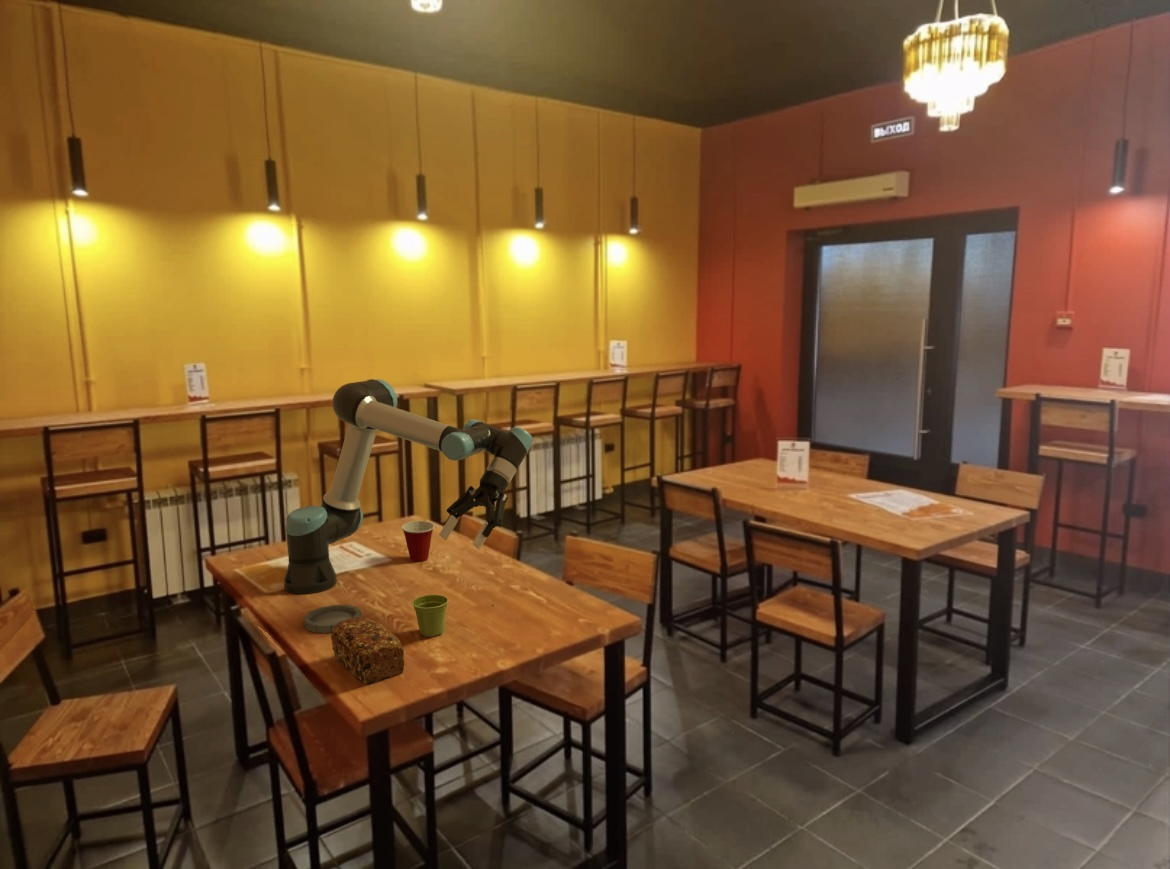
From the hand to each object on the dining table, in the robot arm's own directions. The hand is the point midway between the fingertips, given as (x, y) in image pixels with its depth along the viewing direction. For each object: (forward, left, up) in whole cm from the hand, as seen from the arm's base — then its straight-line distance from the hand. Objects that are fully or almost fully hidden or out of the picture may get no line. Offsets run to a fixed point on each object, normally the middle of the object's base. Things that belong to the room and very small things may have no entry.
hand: (458, 541), depth 210 cm
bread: (-17, -29, -22) cm, 40 cm away
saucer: (-34, -3, -21) cm, 40 cm away
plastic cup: (-22, +49, -22) cm, 58 cm away
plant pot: (-6, -10, -22) cm, 25 cm away
